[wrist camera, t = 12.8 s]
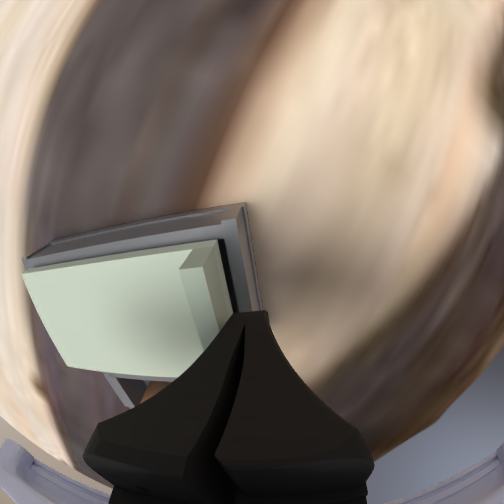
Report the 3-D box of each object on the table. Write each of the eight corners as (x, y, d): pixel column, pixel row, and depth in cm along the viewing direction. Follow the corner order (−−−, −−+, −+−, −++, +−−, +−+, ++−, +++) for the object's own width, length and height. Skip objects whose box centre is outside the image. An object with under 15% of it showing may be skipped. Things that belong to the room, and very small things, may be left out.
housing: (277, 402, 19) (278, 437, 16) (128, 398, 21) (116, 425, 18) (245, 201, 14) (238, 218, 11) (52, 239, 15) (20, 258, 12)
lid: (245, 365, 13) (241, 404, 11) (73, 358, 14) (54, 383, 12) (217, 239, 11) (202, 266, 8) (29, 268, 12) (2, 287, 9)
